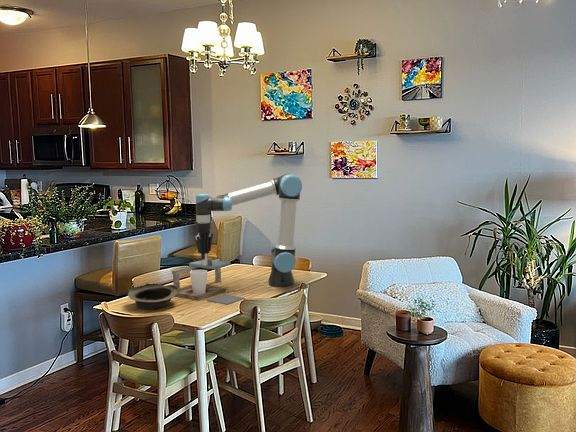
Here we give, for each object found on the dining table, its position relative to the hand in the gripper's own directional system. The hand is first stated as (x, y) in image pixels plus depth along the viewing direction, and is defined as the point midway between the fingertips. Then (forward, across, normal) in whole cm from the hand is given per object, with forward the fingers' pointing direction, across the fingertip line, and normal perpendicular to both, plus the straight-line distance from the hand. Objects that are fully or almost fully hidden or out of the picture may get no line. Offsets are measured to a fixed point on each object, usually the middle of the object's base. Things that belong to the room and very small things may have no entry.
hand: (204, 265), depth 299 cm
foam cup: (+16, +5, 0) cm, 17 cm away
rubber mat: (+16, +5, +19) cm, 25 cm away
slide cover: (+2, -8, -3) cm, 9 cm away
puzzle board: (+16, -6, -3) cm, 17 cm away
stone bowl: (+16, +33, -6) cm, 37 cm away
